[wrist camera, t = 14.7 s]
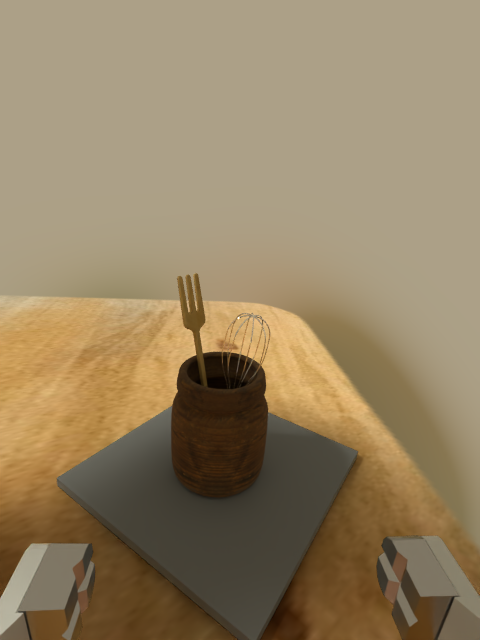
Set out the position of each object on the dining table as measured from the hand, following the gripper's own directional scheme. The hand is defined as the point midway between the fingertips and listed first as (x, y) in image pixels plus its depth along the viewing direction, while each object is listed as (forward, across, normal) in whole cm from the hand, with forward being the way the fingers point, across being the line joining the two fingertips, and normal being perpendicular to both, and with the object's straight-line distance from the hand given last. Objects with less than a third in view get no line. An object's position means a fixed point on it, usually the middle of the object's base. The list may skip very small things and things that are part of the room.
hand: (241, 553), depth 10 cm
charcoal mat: (+12, 0, +8) cm, 14 cm away
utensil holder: (+12, 0, +8) cm, 14 cm away
